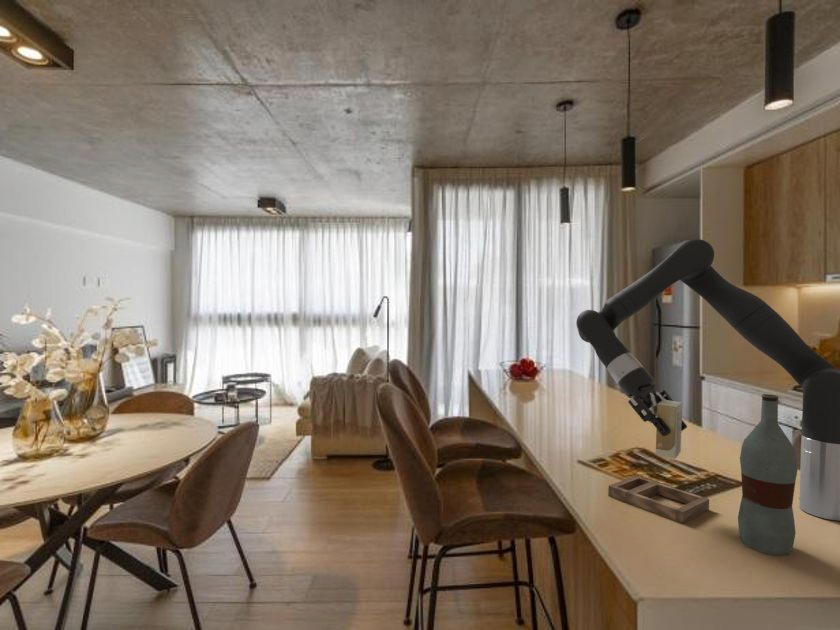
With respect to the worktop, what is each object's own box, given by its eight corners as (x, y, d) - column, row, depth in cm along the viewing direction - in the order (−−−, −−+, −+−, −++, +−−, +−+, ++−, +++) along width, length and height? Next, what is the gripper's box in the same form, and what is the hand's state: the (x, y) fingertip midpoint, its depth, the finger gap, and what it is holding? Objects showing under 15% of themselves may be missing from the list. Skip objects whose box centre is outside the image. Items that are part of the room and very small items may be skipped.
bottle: (796, 544, 96) (802, 395, 95) (792, 562, 89) (798, 402, 88) (740, 529, 102) (745, 389, 101) (733, 545, 95) (737, 395, 94)
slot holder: (708, 509, 112) (709, 498, 112) (682, 523, 104) (682, 512, 104) (635, 484, 126) (635, 475, 126) (608, 495, 119) (608, 485, 119)
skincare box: (661, 448, 117) (663, 399, 116) (681, 452, 114) (683, 401, 114) (654, 455, 112) (656, 403, 112) (675, 459, 109) (677, 406, 109)
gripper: (624, 368, 114) (672, 427, 105) (655, 363, 123) (702, 418, 113) (603, 386, 119) (648, 445, 110) (635, 381, 127) (679, 435, 118)
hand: (675, 431), depth 112 cm, fingers closed on skincare box, 7 cm apart
